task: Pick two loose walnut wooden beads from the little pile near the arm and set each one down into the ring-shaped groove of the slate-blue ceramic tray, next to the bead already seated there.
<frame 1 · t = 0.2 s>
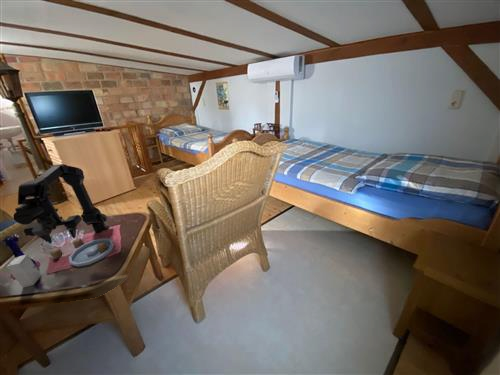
hand: (62, 240, 93), 14 cm above the table, fingers open, 9 cm apart
bead c: (104, 250, 104), point 1 cm above the table, touching groove tray
bead a: (79, 245, 111), on the table
skincare box: (32, 281, 91), on the table
bead b: (58, 256, 105), on the table
groove tray: (93, 254, 104), on the table
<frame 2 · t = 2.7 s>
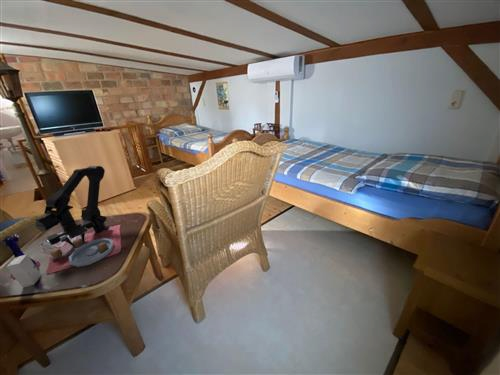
hand: (79, 244, 111), 1 cm above the table, fingers closed on bead a, 4 cm apart
bead a: (79, 245, 111), on the table, touching gripper
everything else where it was.
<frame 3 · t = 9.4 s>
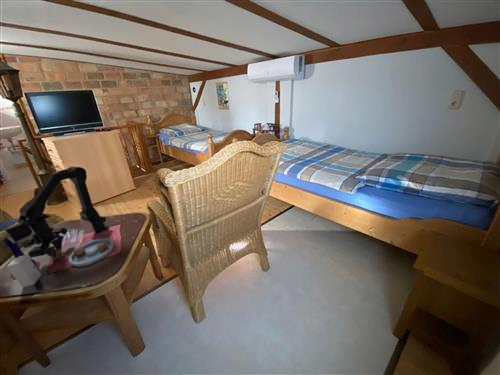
hand: (57, 254, 104), 1 cm above the table, fingers closed on bead b, 4 cm apart
bead a: (81, 254, 103), point 1 cm above the table, touching groove tray
bead b: (58, 256, 105), on the table, touching gripper
everything else where it was.
when the fingers open (3 cm above the table, at t = 13.1 s): bead b stays where it is, resting on groove tray.
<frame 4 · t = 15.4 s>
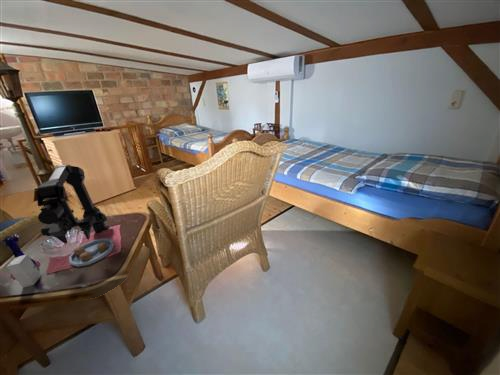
hand: (77, 241, 94), 12 cm above the table, fingers open, 9 cm apart
bead b: (87, 260, 99), point 1 cm above the table, touching groove tray
everything else where it was.
at the end: bead a 0.1 cm from the target spot on the groove tray, point 1.2 cm above the groove tray's base; bead b 0.0 cm from the target spot on the groove tray, point 1.2 cm above the groove tray's base; bead b tilted 0° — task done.
